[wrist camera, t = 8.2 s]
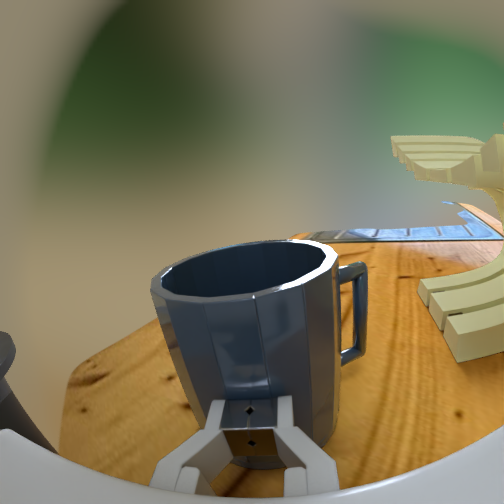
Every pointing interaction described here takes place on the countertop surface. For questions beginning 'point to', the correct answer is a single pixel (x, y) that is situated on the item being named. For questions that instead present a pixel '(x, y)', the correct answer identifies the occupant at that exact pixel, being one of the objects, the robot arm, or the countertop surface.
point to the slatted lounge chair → (475, 281)
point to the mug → (262, 329)
